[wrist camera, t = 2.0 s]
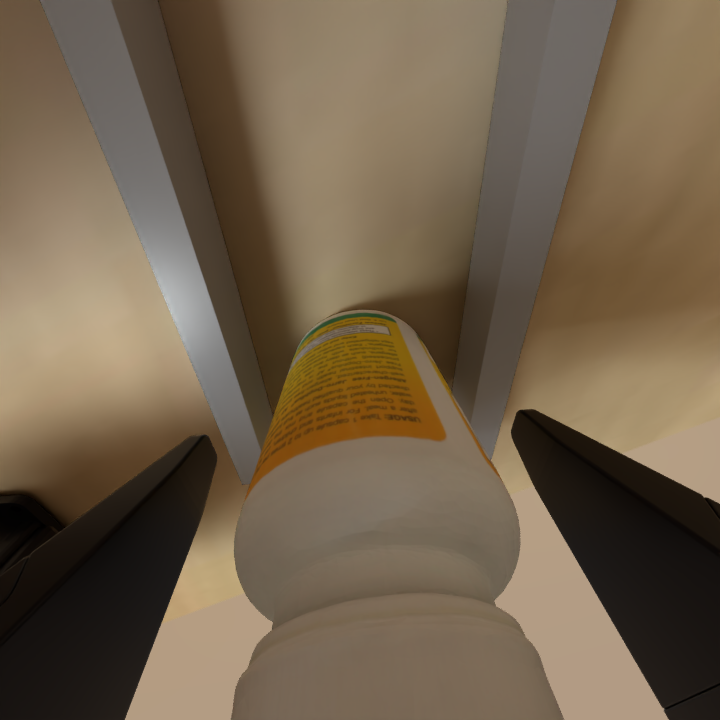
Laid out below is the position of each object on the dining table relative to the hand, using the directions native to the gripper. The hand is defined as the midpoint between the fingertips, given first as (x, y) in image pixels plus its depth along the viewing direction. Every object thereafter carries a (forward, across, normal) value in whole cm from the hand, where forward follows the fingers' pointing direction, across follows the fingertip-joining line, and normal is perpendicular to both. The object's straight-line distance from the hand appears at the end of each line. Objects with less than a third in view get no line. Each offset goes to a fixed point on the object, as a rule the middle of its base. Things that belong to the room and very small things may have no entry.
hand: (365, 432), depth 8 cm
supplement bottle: (+4, 0, 0) cm, 4 cm away
